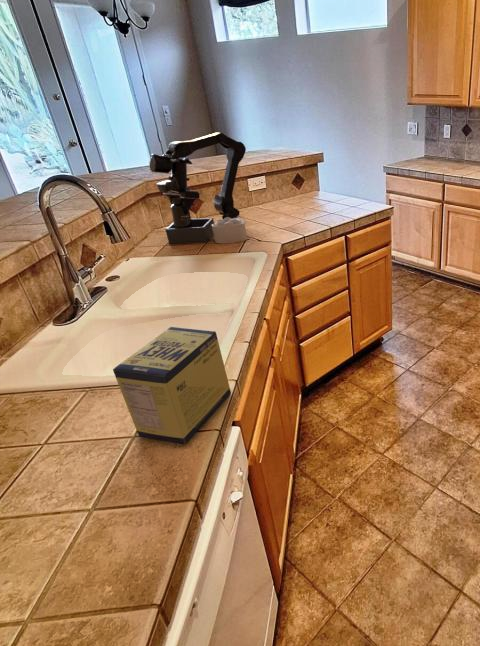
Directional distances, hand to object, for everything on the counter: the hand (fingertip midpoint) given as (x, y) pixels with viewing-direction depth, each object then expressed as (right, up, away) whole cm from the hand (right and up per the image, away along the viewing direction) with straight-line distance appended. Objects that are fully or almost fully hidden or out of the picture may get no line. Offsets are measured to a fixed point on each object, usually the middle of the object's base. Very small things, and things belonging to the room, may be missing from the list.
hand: (180, 213), depth 180 cm
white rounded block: (+19, -10, +6) cm, 23 cm away
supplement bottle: (0, -6, +2) cm, 6 cm away
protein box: (+50, -62, -94) cm, 123 cm away
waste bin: (+2, -9, +8) cm, 12 cm away
